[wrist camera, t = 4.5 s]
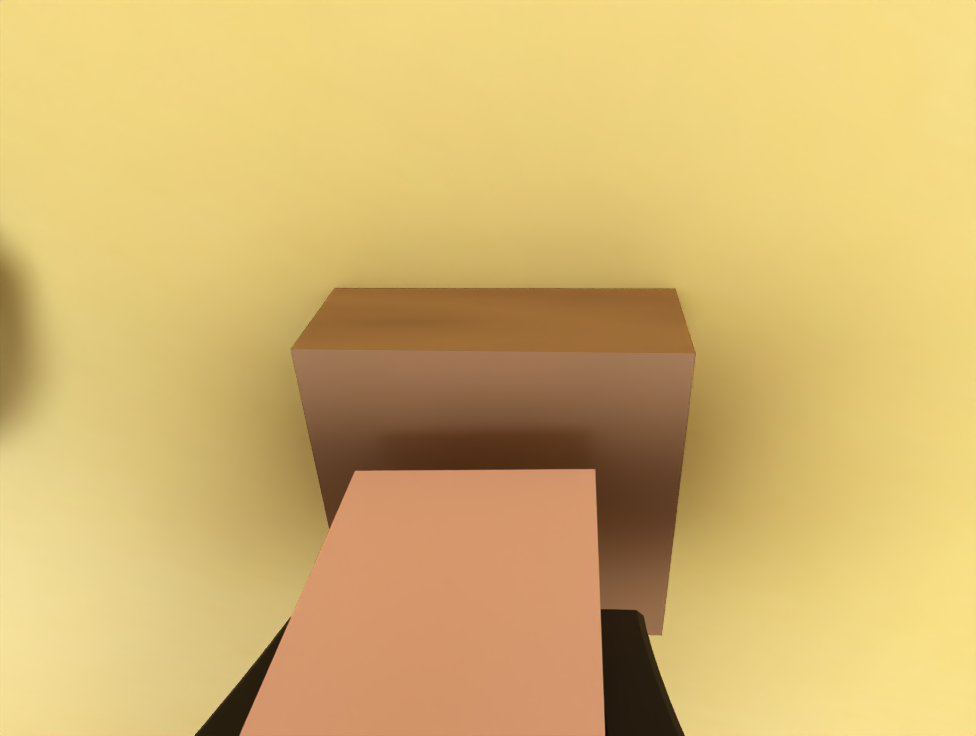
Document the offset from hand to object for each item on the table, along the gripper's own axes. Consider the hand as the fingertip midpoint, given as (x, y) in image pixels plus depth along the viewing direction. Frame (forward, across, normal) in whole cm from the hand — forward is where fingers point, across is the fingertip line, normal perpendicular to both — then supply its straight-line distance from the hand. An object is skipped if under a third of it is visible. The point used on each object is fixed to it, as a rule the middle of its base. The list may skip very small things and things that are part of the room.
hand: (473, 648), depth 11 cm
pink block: (+2, 0, 0) cm, 2 cm away
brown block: (+6, 0, 0) cm, 6 cm away
